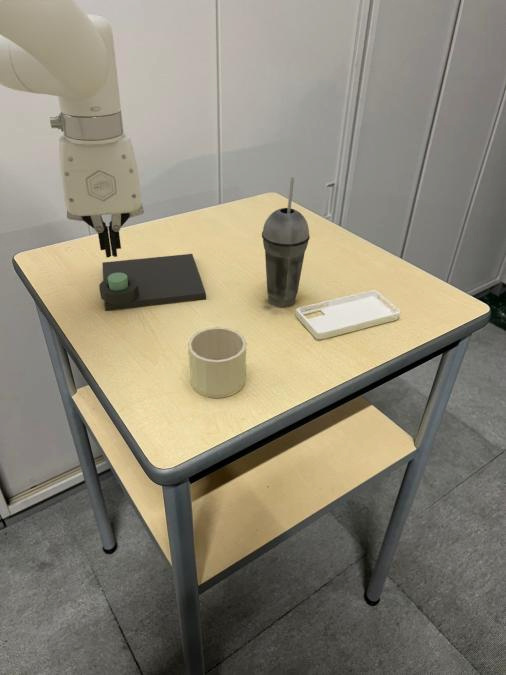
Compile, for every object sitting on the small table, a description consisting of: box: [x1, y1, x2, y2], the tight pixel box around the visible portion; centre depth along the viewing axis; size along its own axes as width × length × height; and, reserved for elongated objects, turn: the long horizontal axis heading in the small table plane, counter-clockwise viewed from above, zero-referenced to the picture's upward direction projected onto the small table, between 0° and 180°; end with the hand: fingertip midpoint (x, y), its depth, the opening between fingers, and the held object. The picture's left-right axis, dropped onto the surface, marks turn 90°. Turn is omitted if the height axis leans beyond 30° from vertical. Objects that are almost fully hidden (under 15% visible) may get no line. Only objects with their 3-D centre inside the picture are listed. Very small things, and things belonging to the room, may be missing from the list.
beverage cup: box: [261, 176, 311, 309], centre depth 79 cm, size 7×7×20 cm
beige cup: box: [187, 326, 247, 399], centre depth 67 cm, size 7×7×6 cm
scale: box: [98, 253, 207, 312], centre depth 87 cm, size 16×14×3 cm
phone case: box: [295, 289, 402, 341], centre depth 81 cm, size 7×1×15 cm
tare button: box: [108, 273, 128, 291], centre depth 81 cm, size 3×3×2 cm
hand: (111, 253), depth 78 cm, fingers closed
